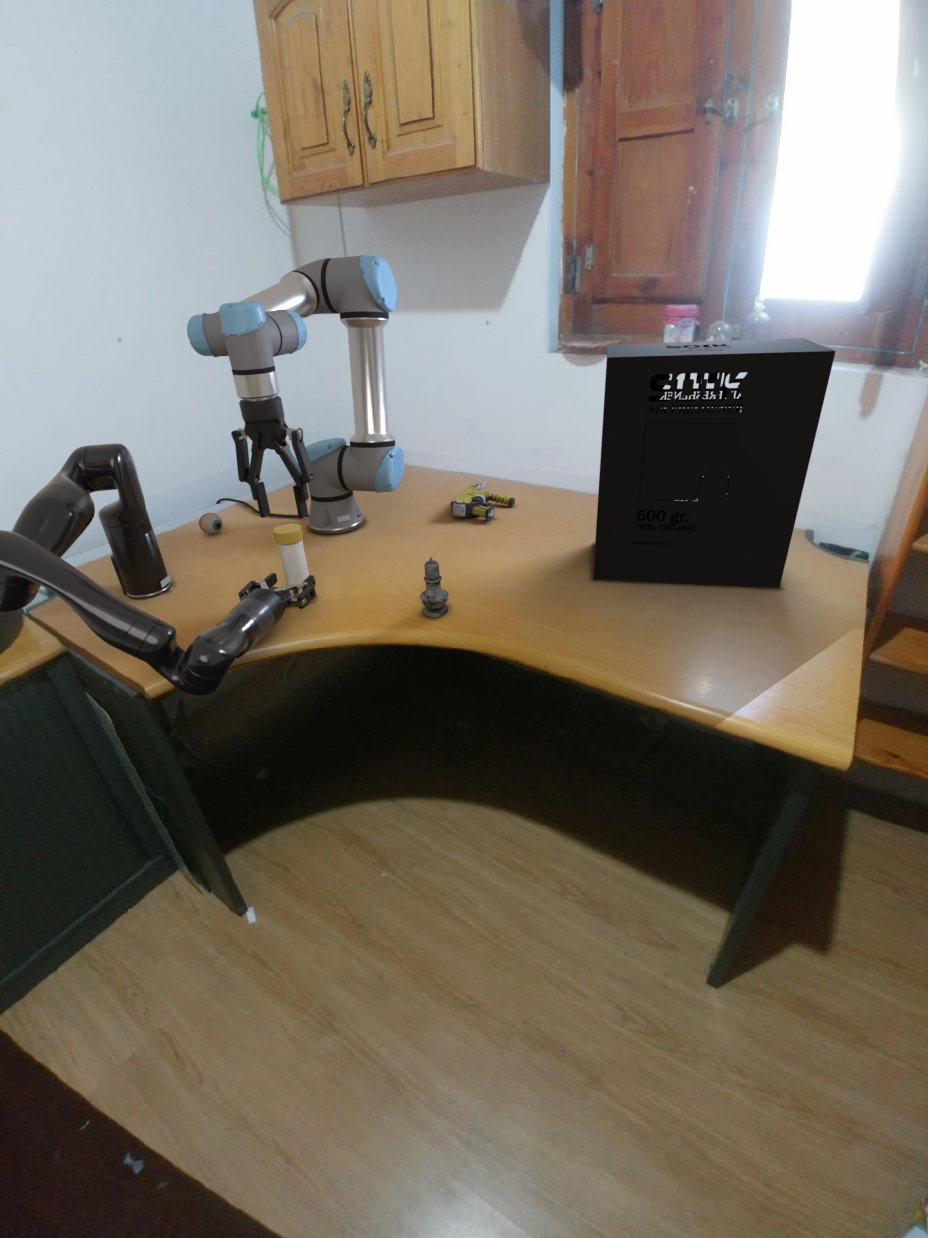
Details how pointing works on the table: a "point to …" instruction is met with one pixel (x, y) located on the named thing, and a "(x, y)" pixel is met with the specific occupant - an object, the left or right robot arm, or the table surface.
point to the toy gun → (477, 502)
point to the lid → (288, 534)
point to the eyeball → (210, 523)
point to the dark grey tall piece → (433, 591)
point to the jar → (294, 563)
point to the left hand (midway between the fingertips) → (293, 578)
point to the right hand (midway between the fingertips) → (284, 515)
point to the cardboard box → (706, 459)
